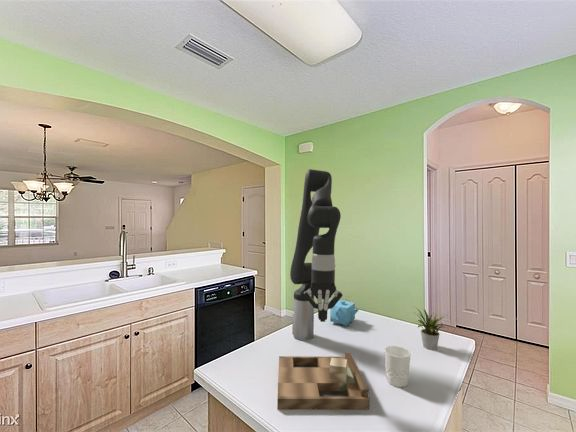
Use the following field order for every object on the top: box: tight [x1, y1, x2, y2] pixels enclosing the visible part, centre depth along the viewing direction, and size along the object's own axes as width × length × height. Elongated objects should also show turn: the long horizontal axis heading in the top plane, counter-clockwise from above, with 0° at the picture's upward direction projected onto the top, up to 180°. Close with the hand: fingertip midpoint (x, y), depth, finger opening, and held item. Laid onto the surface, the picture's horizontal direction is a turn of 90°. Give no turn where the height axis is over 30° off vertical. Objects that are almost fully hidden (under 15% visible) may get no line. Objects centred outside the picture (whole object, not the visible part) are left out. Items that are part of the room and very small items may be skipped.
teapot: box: [328, 299, 360, 328], centre depth 145 cm, size 16×18×11 cm
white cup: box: [384, 345, 411, 388], centre depth 93 cm, size 8×8×10 cm
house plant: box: [413, 306, 447, 351], centre depth 119 cm, size 14×14×16 cm
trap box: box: [276, 352, 370, 410], centre depth 91 cm, size 26×24×5 cm
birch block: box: [330, 356, 347, 384], centre depth 90 cm, size 5×5×5 cm
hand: (322, 320), depth 91 cm, fingers closed
